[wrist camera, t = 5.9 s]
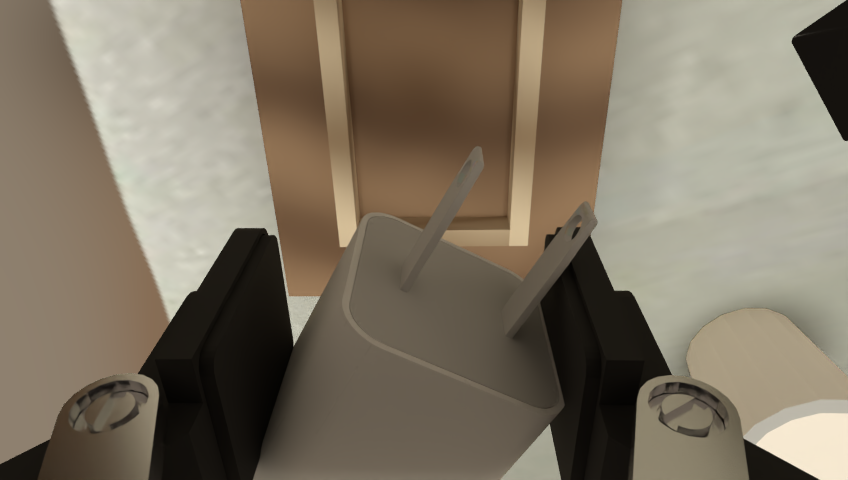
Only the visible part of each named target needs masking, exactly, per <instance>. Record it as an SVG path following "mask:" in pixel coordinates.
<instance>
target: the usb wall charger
mask: <svg viewBox="0 0 848 480" xmlns="http://www.w3.org/2000/svg"><path fill="white" fill-rule="evenodd" d="M483 167H484V161H483V155H482V148H481V147H479V146H477V147H475V148H474V149H473V150H472V152H471V153H470V155H469V156H468V158H467V160H466V161H465V163H464V164H463V166H462V168H461V169H460V171H459V172H458V174H457V176H456V177H455V179H454V180H453V182H452V184H451V185H450V187H449V188H448V190H447V192H446V193H445V195H444V197H443V198H442V200H441V202H440V203H439V205H438V207H437V208H436V210H435V212H434V213H433V215H432V217H431V218H430V220H429V222H428V223H427V225H426V227H425V228H424V230H423V229H421V228H419V227H417V226H414V225H412V224H410V223H408V222H406V221H404V220H402V219H399V218H397V217H395V216H392V215H389V214H385V213H377V212H375V213H369V214H366V215H365V216H364V217H363V218H362V220H361V222H360V223H359V225H358V227H357V229H356V231H355V233H354V235H353V237H352V238H351V240H350V242H349V244H348V246H347V248H346V250H345V252H344V253H343V255H342V257H341V259H340V261H339V263H338V265H337V267H336V268H335V270H334V272H333V274H332V276H331V278H330V280H329V281H328V283H327V285H326V287H325V289H324V291H323V293H322V295H321V296H320V298H319V300H318V302H317V304H316V306H315V308H314V310H313V311H312V313H311V315H310V317H309V319H308V321H307V323H306V325H305V326H304V328H303V330H302V332H301V334H300V336H299V338H298V340H297V341H296V343H295V345H294V347H293V350H292V353H291V356H290V359H289V362H288V365H287V369H286V372H285V375H284V378H283V381H282V384H281V387H280V390H279V393H278V396H277V399H276V402H275V406H274V409H273V412H272V415H271V418H270V421H269V424H268V427H267V430H266V433H265V436H264V439H263V443H262V447H261V453H260V459H259V462H258V465H257V468H256V472H255V475H254V478H253V480H500V479H501V478H502V477H503V476H504V475H505V474H506V472H507V471H508V470H509V469H510V468H511V467H512V466H513V465H514V463H515V462H516V461H517V460H518V459H519V458H520V457H521V455H522V454H523V453H524V452H525V451H526V450H527V449H528V448H529V446H530V445H531V444H532V443H533V442H534V441H535V440H536V439H537V437H538V436H539V435H540V434H541V433H542V432H543V431H544V430H545V428H546V427H547V426H548V425H549V424H550V423H551V422H552V421H553V419H554V418H555V417H556V416H557V415H558V414H559V413H560V412H561V410H562V409H563V408H564V405H565V404H564V399H563V395H562V391H561V387H560V383H559V379H558V375H557V370H556V366H555V362H554V358H553V354H552V350H551V346H550V341H549V337H548V333H547V329H546V325H545V321H544V317H543V313H542V308H541V304H540V301H541V300H542V299H543V297H544V296H545V295H546V294H547V292H548V291H549V290H550V288H551V287H552V286H553V284H554V283H555V282H556V280H557V279H558V278H559V277H560V275H561V274H562V273H563V271H564V270H565V269H566V267H567V266H568V265H569V263H570V262H571V260H572V259H573V258H574V256H575V255H576V253H577V252H578V250H579V249H580V248H581V246H582V245H583V243H584V242H585V241H586V239H587V238H588V236H589V235H590V234H591V232H592V231H593V229H594V228H595V227H596V225H597V219H596V217H595V215H594V213H593V211H592V209H591V207H590V204H589V203H588V202H586V201H585V202H583V203H582V204H581V205H580V206H579V207H578V208H577V210H576V211H575V212H574V213H573V215H572V216H571V217H570V218H569V220H568V221H567V222H566V224H565V225H564V226H563V227H562V229H561V230H560V231H559V232H558V234H557V235H556V236H555V237H554V239H553V240H552V241H551V243H550V244H549V245H548V247H547V248H546V250H545V251H544V252H543V254H542V255H541V256H540V258H539V259H538V261H537V262H536V263H535V265H534V266H533V267H532V269H531V270H530V271H529V273H528V274H527V276H526V277H525V278H524V279H522V278H521V277H520V276H518V275H517V274H515V273H514V272H512V271H510V270H508V269H506V268H504V267H502V266H500V265H498V264H495V263H493V262H491V261H489V260H487V259H485V258H483V257H481V256H478V255H476V254H474V253H472V252H470V251H468V250H466V249H463V248H461V247H459V246H457V245H455V244H453V243H451V242H449V241H446V240H444V239H442V236H443V234H444V233H445V231H446V230H447V228H448V226H449V225H450V223H451V222H452V220H453V218H454V217H455V215H456V213H457V212H458V210H459V208H460V207H461V205H462V203H463V202H464V200H465V198H466V197H467V195H468V193H469V192H470V190H471V188H472V187H473V185H474V183H475V181H476V180H477V178H478V176H479V175H480V173H481V171H482V170H483ZM581 221H582V224H581V227H580V230H579V232H578V233H577V235H576V236H575V237H574V238H573V239H572V235H573V232H574V230H575V228H576V226H577V225H578V224H579V223H580V222H581ZM571 239H572V240H571Z"/></svg>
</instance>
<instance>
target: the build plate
mask: <svg viewBox="0 0 848 480" xmlns="http://www.w3.org/2000/svg"><path fill="white" fill-rule="evenodd" d="M792 44H793V46H794V48H795V50H796V51H797V53H798V55H799V57H800V59H801V61H802V63H803V65H804V66H805V68H806V70H807V72H808V74H809V76H810V78H811V80H812V82H813V83H814V85H815V87H816V89H817V91H818V93H819V95H820V97H821V99H822V100H823V102H824V104H825V106H826V108H827V110H828V112H829V114H830V116H831V117H832V119H833V121H834V123H835V125H836V127H837V129H838V131H839V132H840V134H841V136H842V138H843V140H845V141H848V0H846V1H845V2H843V3H842V4H840V5H839V6H837V7H836V8H834V9H833V10H832V11H830V12H829V13H827V14H826V15H824V16H823V17H821V18H820V19H818V20H817V21H816V22H814V23H813V24H811V25H810V26H808V27H807V28H805V29H804V30H802V31H801V32H800V33H798V34H797V35H795V36H794V37H793V39H792Z"/></svg>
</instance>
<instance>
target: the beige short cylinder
mask: <svg viewBox="0 0 848 480" xmlns="http://www.w3.org/2000/svg"><path fill="white" fill-rule="evenodd" d="M686 361H687V364H688V368H689V372H690V375H691V378H693V379H696V380H700V381H702V382H704V383H706V384H708V385H710V386H712V387H714V388H716V389H717V390H719V391H720V392H721V393H723V394H724V395H725V396H726V397H728V398H729V400H730V401H731V402H732V403H733V405H734V406H735V407H736V409H737V411H738V414H739V417H740V419H741V426H742V433H743V438H744V439H746V440H748V441H749V442H751V443H753V444H755V445H757V446H759V447H760V448H762V449H764V450H766V451H768V452H770V453H772V454H773V455H775V456H777V457H779V458H781V459H783V460H784V461H786V462H788V463H790V464H792V465H794V466H796V467H797V468H799V469H801V470H803V471H805V472H807V473H808V474H810V475H812V476H814V477H816V478H818V479H820V480H848V377H847V376H846V375H845V374H844V373H843V372H842V371H841V370H840V369H839V368H838V367H837V366H836V365H835V364H834V363H833V362H832V361H831V360H830V359H829V358H828V357H827V356H826V355H825V354H824V353H823V352H822V351H821V350H820V349H819V348H818V347H817V346H816V345H815V344H814V343H813V342H812V341H810V340H809V339H808V338H807V337H806V336H805V335H804V334H803V333H802V332H801V331H800V330H799V329H798V328H797V327H796V326H795V325H794V324H793V323H792V322H791V321H790V320H789V319H788V318H787V317H786V316H785V315H782V314H780V313H777V312H775V311H772V310H769V309H767V308H744V309H740V310H737V311H733V312H730V313H726V314H723V315H721V316H719V317H718V318H716V319H714V320H713V321H711V322H710V323H708V324H707V325H705V326H703V327H702V329H701V330H700V331H699V332H698V333H697V335H696V336H695V337H694V338H693V340H692V341H691V342H690V345H689V349H688V352H687V356H686Z"/></svg>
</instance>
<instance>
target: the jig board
mask: <svg viewBox="0 0 848 480" xmlns="http://www.w3.org/2000/svg"><path fill="white" fill-rule="evenodd" d="M240 1H241V7H242V13H243V19H244V25H245V31H246V37H247V43H248V49H249V56H250V62H251V68H252V74H253V80H254V86H255V92H256V98H257V104H258V110H259V116H260V122H261V129H262V135H263V141H264V147H265V153H266V159H267V165H268V171H269V177H270V183H271V189H272V195H273V201H274V208H275V214H276V220H277V226H278V232H279V238H280V244H281V250H282V256H283V262H284V268H285V274H286V280H287V287H288V293H289V296H321V295H322V293H323V291H324V289H325V287H326V285H327V283H328V281H329V280H330V278H331V276H332V274H333V272H334V270H335V268H336V267H337V265H338V263H339V261H340V259H341V257H342V255H343V253H344V252H345V250H346V248H347V246H348V244H349V242H350V240H351V238H352V237H353V235H354V233H355V231H356V229H357V227H358V225H359V223H360V222H361V220H362V218H363V217H364V216H365V215H366V214H369V213H375V212H377V213H385V214H389V215H392V216H395V217H397V218H399V219H402V220H404V221H406V222H408V223H410V224H412V225H414V226H417V227H419V228H421V229H423V230H424V228H425V227H426V225H427V223H428V222H429V220H430V218H431V217H432V215H433V213H434V212H435V210H436V208H437V207H438V205H439V203H440V202H441V200H442V198H443V197H444V195H445V193H446V192H447V190H448V188H449V187H450V185H451V184H452V182H453V180H454V179H455V177H456V176H457V174H458V172H459V171H460V169H461V168H462V166H463V164H464V163H465V161H466V160H467V158H468V156H469V155H470V153H471V152H472V150H473V149H474V148H475V147H477V146H479V147H481V148H482V155H483V161H484V167H483V170H482V171H481V173H480V175H479V176H478V178H477V180H476V181H475V183H474V185H473V187H472V188H471V190H470V192H469V193H468V195H467V197H466V198H465V200H464V202H463V203H462V205H461V207H460V208H459V210H458V212H457V213H456V215H455V217H454V218H453V220H452V222H451V223H450V225H449V226H448V228H447V230H446V231H445V233H444V234H443V236H442V239H444V240H446V241H449V242H451V243H453V244H455V245H457V246H459V247H461V248H463V249H466V250H468V251H470V252H472V253H474V254H476V255H478V256H481V257H483V258H485V259H487V260H489V261H491V262H493V263H495V264H498V265H500V266H502V267H504V268H506V269H508V270H510V271H512V272H514V273H515V274H517V275H518V276H520V277H521V278H522V279H524V278H525V277H526V276H527V274H528V273H529V271H530V270H531V269H532V267H533V266H534V265H535V263H536V262H537V261H538V259H539V258H540V256H541V255H542V254H543V252H544V246H545V238H546V235H547V234H555V231H556V229H557V227H563V226H564V225H565V224H566V222H567V221H568V220H569V218H570V217H571V216H572V215H573V213H574V212H575V211H576V210H577V208H578V207H579V206H580V205H581V204H582V203H583V202H585V201H586V202H588V203H589V204H590V207H591V209H592V211H593V213H594V206H595V199H596V191H597V184H598V176H599V169H600V161H601V154H602V147H603V139H604V132H605V124H606V117H607V110H608V102H609V95H610V87H611V80H612V72H613V65H614V58H615V50H616V43H617V35H618V28H619V21H620V13H621V6H622V0H240ZM581 224H582V221H581V222H580V223H579V224H578V225H577V226H576V227H581ZM590 236H591V234H590Z"/></svg>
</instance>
